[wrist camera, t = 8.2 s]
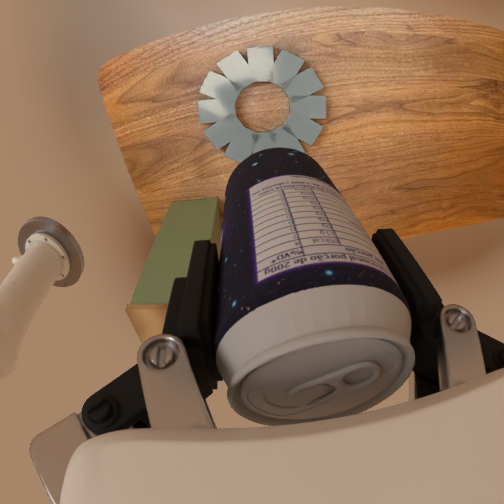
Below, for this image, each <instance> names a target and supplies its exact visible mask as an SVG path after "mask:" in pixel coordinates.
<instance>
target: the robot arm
mask: <svg viewBox="0 0 504 504" xmlns="http://www.w3.org/2000/svg"><path fill="white" fill-rule="evenodd" d="M372 242H373V244H374V245H375V247H376V249H377V250H378V252H379V253H380V255H381V257H382V258H383V260H384V262H385V263H386V265H387V267H388V268H389V270H390V272H391V274H392V275H393V277H394V279H395V280H396V282H397V284H398V286H399V288H400V289H401V291H402V293H403V295H404V297H405V298H406V300H407V302H408V304H409V307H410V310H411V335H410V344H411V345H412V347H413V349H414V353H415V364H414V367H413V370H412V372H411V374H410V375H409V402H405V403H402V404H398V405H394V406H390V407H386V408H382V409H378V410H374V411H369V412H365V413H360V414H355V415H350V416H345V417H339V418H333V419H327V420H321V421H314V422H306V423H298V424H290V425H280V426H269V427H253V428H227V429H217V427H216V425H215V422H214V420H213V417H212V415H211V412H210V409H209V406H208V404H207V401H206V398H207V397H208V396H209V395H211V394H212V393H213V389H217V381H222V380H223V378H222V376H221V374H220V373H219V371H218V369H217V367H216V364H215V362H214V358H213V344H214V328H215V312H216V298H217V284H218V271H219V258H218V251H217V245H216V243H211V241H210V240H197V241H194V244H193V249H192V254H191V258H190V263H189V268H188V273H187V277H179V278H175V280H174V282H173V287H172V291H171V295H170V299H169V304H168V308H167V312H166V317H165V322H164V326H163V331H162V334H159V335H155V336H153V337H150V338H149V339H147V340H146V341H144V342H143V344H142V345H141V346H140V348H139V350H138V353H137V361H138V364H136V365H135V366H133V367H132V368H130V369H129V370H128V371H126V372H125V373H123V374H122V375H120V376H119V377H118V378H116V379H115V380H113V381H112V382H110V383H109V384H108V385H106V386H105V387H103V388H102V389H100V390H99V391H97V392H96V393H94V394H93V395H92V396H90V397H89V398H88V399H87V400H86V402H85V403H84V405H83V408H82V412H81V413H79V414H76V413H73V414H71V415H69V416H68V417H67V418H65V419H63V420H61V421H60V422H58V423H56V424H55V425H53V426H52V427H50V428H48V429H46V430H45V431H43V432H41V433H40V434H38V435H37V436H35V438H33V440H32V442H31V444H30V455H31V458H32V461H33V463H34V466H35V468H36V470H37V472H38V475H39V477H40V479H41V481H42V484H43V486H44V488H45V490H46V492H47V494H48V496H49V498H50V500H51V502H52V504H504V344H503V343H501V342H500V341H498V340H496V339H494V338H492V337H490V336H488V335H486V334H483V333H482V332H480V331H478V330H477V328H476V324H475V320H474V318H473V316H472V315H471V313H470V312H469V311H468V310H466V309H465V308H463V307H461V306H459V305H455V304H450V305H447V306H445V307H444V306H443V304H442V299H441V298H440V296H439V295H438V293H437V291H436V290H435V288H434V287H433V285H432V284H431V282H430V281H429V279H428V278H427V276H426V275H425V273H424V272H423V270H422V269H421V267H420V266H419V264H418V263H417V261H416V260H415V259H414V257H413V256H412V254H411V253H410V252H409V250H408V249H407V247H406V246H405V245H404V243H403V242H402V241H401V239H400V238H399V237H398V235H397V234H396V233H395V231H394V230H393V229H378V230H377V232H376V233H374V234H373V236H372ZM12 262H13V264H14V265H15V266H14V267H13V269H12V270H11V271H10V273H9V274H8V275H7V277H6V278H5V279H4V281H3V282H2V284H1V285H0V382H4V381H6V380H8V379H9V378H10V376H11V375H12V373H13V371H14V369H15V366H16V362H17V359H18V354H19V351H20V348H21V344H22V342H23V339H24V337H25V334H26V332H27V330H28V328H29V326H30V324H31V323H32V320H33V319H34V317H35V315H36V313H37V311H38V310H39V308H40V306H41V304H42V303H43V301H44V299H45V298H46V296H47V294H48V292H49V291H50V289H51V287H52V286H53V284H54V283H55V281H56V280H61V279H64V278H65V277H66V276H67V274H68V272H69V270H70V260H69V257H68V254H67V252H66V251H65V249H64V248H63V246H62V245H61V244H60V243H59V242H58V241H57V240H56V239H55V238H53V237H52V236H50V235H48V234H45V233H34V234H32V235H31V236H30V237H29V238H28V239H27V241H26V244H25V253H24V254H23V255H21V256H20V257H19V256H17V257H13V259H12Z"/></svg>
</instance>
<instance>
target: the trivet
mask: <svg viewBox="0 0 504 504" xmlns="http://www.w3.org/2000/svg"><path fill="white" fill-rule="evenodd" d="M247 59H248V63H247V62H246V61H245V59H244V58H243V57H242V55H241V54H240V52H239V51H238V50H237V51H236V52H234V53H232V54H231V55H229V56H227V57H226V58H224V59H222V60H221V61H219V62H218V63H216V64H217V66H218V67H219V68H220V70H221V71H222V72H223V74H224V75H225V76H226V77H225V76H223V75H221V74H218V73H216V72H213V71H209V73H208V75H207V77H206V79H205V81H204V83H203V85H202V87H201V89H200V91H199V92H200V93H202V94H205V95H207V96H210V97H212V99H203V100H198V101H197V102H198V112H199V121H200V124H204V123H214V122H215V123H214V124H212V125H211V126H210V127H208V128H207V129H205V130H204V131H203V133H204V134H205V135H206V137H207V138H208V139H209V140H210V142H211V143H212V144H213V146H214V147H215V148H216V150H218V149H220V148H221V147H223V146H224V145H226V144H227V143H229V142H230V143H229V145H228V147H227V149H226V151H225V153H224V156H226V157H228V158H230V159H233V160H235V161H237V162H239V163H241V162H242V161H243V160H245V159H246V158H247V157H249V156H250V155H251V153H252V152H253V154H254V153H256V152H259V151H261V150H265V149H269V148H277V147H282V148H291V149H295V150H298V151H301V152H303V153H304V152H305V150H304V149H303V147H302V145H301V144H300V142H299V140H301V141H303V142H305V143H307V144H309V145H310V146H312V145H313V143H314V142H315V140H316V138H317V137H318V135H319V133H320V132H321V130H322V129H323V126H322V125H320V124H319V123H317V122H315V121H313V120H312V119H326V96H325V95H311V94H313V93H315V92H317V91H319V90H320V89H322V88H324V87H323V85H322V83H321V82H320V80H319V78H318V77H317V75H316V73H315V72H314V70H313V68H312V67H309V68H307V69H305V70H303V71H301V72H300V73H298V71H299V70H300V68H301V67H302V65H303V63H304V62H305V61H304V60H303V59H301V58H299V57H297V56H295V55H293V54H292V53H290V52H288V51H286V50H284V49H282V50H281V51H280V53H279V54H278V56H277V58H276V59H275V61H274V54H273V47H247ZM297 73H298V74H297ZM254 82H271V83H273V84H275V85H277V86H279V87H281V88H282V89H283V91H284V92H285V94H286V95H287V97H288V98H289V114H288V116H287V118H286V119H285V121H284V123H283V124H282V125H281V126H279V127H277V128H276V129H274V130H272V131H264V132H256V131H254V130H252V129H250V128H248V127H245V126H244V125H243V124H242V122H241V121H240V119H239V118H238V117H237V115H236V104H235V101H236V99H237V98H238V96H239V94H240V92H241V90H242V89H244V88H245V87H247V86H249V85H250V84H252V83H254ZM297 138H298V139H299V140H298V139H297Z"/></svg>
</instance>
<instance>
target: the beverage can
mask: <svg viewBox="0 0 504 504" xmlns="http://www.w3.org/2000/svg"><path fill="white" fill-rule="evenodd" d="M410 335H411V310H410V307H409V304H408V302H407V300H406V298H405V297H404V295H403V293H402V291H401V289H400V288H399V286H398V284H397V282H396V280H395V279H394V277H393V275H392V274H391V272H390V270H389V268H388V267H387V265H386V263H385V262H384V260H383V258H382V257H381V255H380V253H379V252H378V250H377V249H376V247H375V245H374V244H373V242H372V240H371V239H370V237H369V236H368V234H367V233H366V231H365V230H364V228H363V226H362V225H361V223H360V222H359V220H358V219H357V217H356V216H355V214H354V213H353V211H352V210H351V208H350V207H349V205H348V204H347V203H346V201H345V200H344V198H343V197H342V195H341V194H340V192H339V191H338V190H337V188H336V187H335V185H334V184H333V183H332V181H331V180H330V178H329V177H328V176H327V174H326V173H325V172H324V170H323V169H322V168H321V166H320V165H319V164H318V163H317V162H316V161H315V160H314V159H313V158H311V157H310V156H308V155H307V154H305V153H303V152H301V151H298V150H295V149H291V148H282V147H277V148H269V149H265V150H261V151H259V152H256V153H254V154H252V155H250V156H249V157H247V158H246V159H245V160H243V161H242V162H241V163H240V164H239V165H238V166H237V167H236V168H235V170H234V171H233V173H232V174H231V176H230V178H229V181H228V183H227V187H226V193H225V203H224V213H223V224H222V235H221V247H220V259H219V271H218V284H217V298H216V312H215V328H214V344H213V358H214V362H215V364H216V367H217V369H218V371H219V373H220V374H221V376H222V378H223V379H224V381H225V383H226V384H227V386H228V391H227V397H228V401H229V403H230V406H231V407H232V408H233V409H234V411H235V412H236V413H238V414H239V415H240V416H242V417H244V418H246V419H248V420H250V421H253V422H256V423H259V424H264V425H269V426H280V425H290V424H298V423H306V422H314V421H321V420H327V419H333V418H339V417H345V416H350V415H355V414H358V413H360V412H363V411H365V410H367V409H369V408H371V407H373V406H375V405H377V404H378V403H380V402H382V401H383V400H384V399H386V398H388V397H389V396H390V395H392V394H393V393H394V392H395V391H396V390H398V389H399V388H400V387H401V386H402V385H403V383H404V382H405V381H406V380H407V378H408V377H409V375H410V374H411V372H412V370H413V367H414V364H415V353H414V349H413V347H412V345H411V344H410Z"/></svg>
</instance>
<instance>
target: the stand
mask: <svg viewBox="0 0 504 504" xmlns="http://www.w3.org/2000/svg"><path fill="white" fill-rule="evenodd" d="M221 235H222V230H221V222H220V213H219V205H218V198H210V199H198V200H186V201H175V202H172V203H171V205H170V207H169V209H168V212H167V214H166V216H165V218H164V221H163V223H162V225H161V227H160V230H159V232H158V234H157V237H156V239H155V241H154V244H153V246H152V248H151V251H150V253H149V256H148V258H147V261H146V263H145V266H144V268H143V271H142V273H141V276H140V279H139V281H138V284H137V287H136V289H135V292H134V294H133V298H132V300H131V303H130V304H129V305H127V306H126V309H125V310H126V313H127V315H128V317H129V319H130V321H131V323H132V325H133V327H134V329H135V331H136V333H137V335H138V337H139V339H140V341H141V343H142V344H143V342H144V341H146V340H147V339H149V338H150V337H153V336H155V335H159V334H162V331H163V326H164V322H165V317H166V312H167V308H168V304H169V299H170V295H171V291H172V287H173V282H174V280H175V278H179V277H187V273H188V268H189V263H190V258H191V254H192V249H193V244H194V241H197V240H210V241H211V243H216V245H217V251H218V258H219V259H220V247H221Z"/></svg>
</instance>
